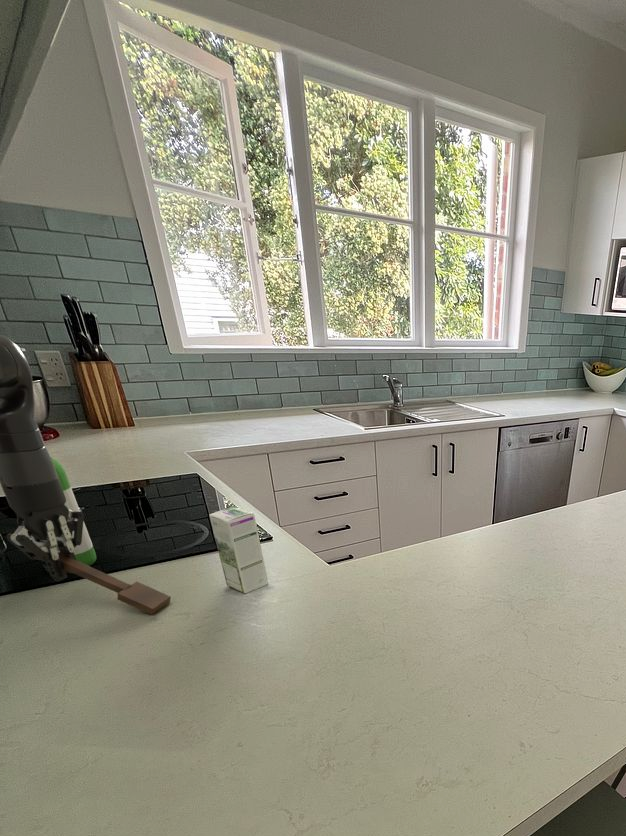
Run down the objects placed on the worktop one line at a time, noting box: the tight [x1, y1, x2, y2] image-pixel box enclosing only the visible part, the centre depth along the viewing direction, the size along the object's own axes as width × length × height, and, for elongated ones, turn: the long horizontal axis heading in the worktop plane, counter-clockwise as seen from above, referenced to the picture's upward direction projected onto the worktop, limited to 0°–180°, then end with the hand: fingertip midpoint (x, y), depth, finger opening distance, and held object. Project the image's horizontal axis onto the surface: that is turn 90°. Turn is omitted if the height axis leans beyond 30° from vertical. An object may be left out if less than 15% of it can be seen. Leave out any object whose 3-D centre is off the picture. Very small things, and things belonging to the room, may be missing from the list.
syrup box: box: [208, 506, 269, 594], centre depth 101 cm, size 6×6×14 cm
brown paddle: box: [58, 553, 171, 616], centre depth 95 cm, size 20×5×1 cm, turn 81°
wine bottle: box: [47, 455, 97, 567], centre depth 102 cm, size 8×8×30 cm
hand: (66, 574), depth 96 cm, fingers closed on brown paddle, 2 cm apart
